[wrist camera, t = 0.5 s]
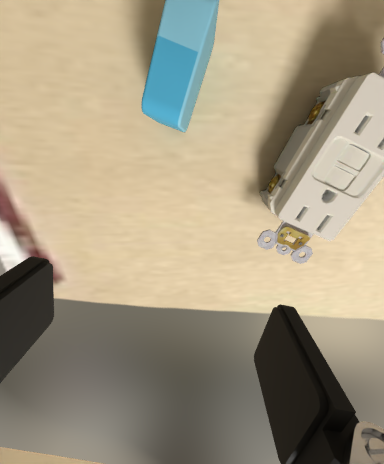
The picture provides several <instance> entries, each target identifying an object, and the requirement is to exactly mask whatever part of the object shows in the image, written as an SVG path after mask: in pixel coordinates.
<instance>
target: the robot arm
mask: <svg viewBox="0 0 384 464" xmlns="http://www.w3.org/2000/svg"><path fill="white" fill-rule="evenodd" d="M53 317H54V298H53V266H52V264H50V263H49V261H48V260H47V259H44V258H38V257H29V258H28V259H26V260H25V261H23V262H21V263H20V264H18V265H17V266H15V267H14V268H12V269H10V270H9V271H7V272H6V273H4V274H3V275H1V276H0V383H1V382H2V380H3V379H4V378H5V377H6V375H7V374H8V373H9V372H10V371H11V370H12V368H13V367H14V366H15V365H16V364H17V363H18V362H19V360H20V359H21V358H22V357H23V356H24V355H25V353H26V352H27V351H28V350H29V349H30V347H31V346H32V345H33V344H34V343H35V342H36V340H37V339H38V338H39V337H40V336H41V335H42V333H43V332H44V331H45V330H46V329H47V328H48V326H49V325H50V324H51V322H52V320H53ZM254 362H255V366H256V370H257V374H258V378H259V382H260V386H261V390H262V394H263V398H264V402H265V406H266V410H267V414H268V417H269V422H270V426H271V430H272V434H273V438H274V442H275V446H276V450H277V454H278V458H279V461H280V463H281V464H384V429H382V428H381V427H379V426H377V425H375V424H372V423H370V422H359V421H358V419H357V417H356V416H355V413H356V411H355V410H354V408H353V406H352V405H351V403H350V401H349V400H348V398H347V396H346V395H345V393H344V391H343V389H342V388H341V386H340V384H339V382H338V381H337V379H336V377H335V376H334V374H333V372H332V371H331V369H330V367H329V365H328V364H327V362H326V360H325V359H324V357H323V355H322V354H321V352H320V350H319V348H318V347H317V345H316V343H315V342H314V340H313V338H312V337H311V335H310V333H309V332H308V330H307V328H306V326H305V325H304V323H303V321H302V319H301V318H300V316H299V314H298V313H297V311H296V309H295V308H294V307H290V306H285V305H278V307H274V308H273V310H272V312H271V315H270V317H269V320H268V322H267V325H266V327H265V329H264V332H263V334H262V337H261V339H260V341H259V344H258V347H257V349H256V351H255V354H254ZM0 464H104V463H97V462H91V461H84V460H79V459H72V458H66V457H60V456H54V455H48V454H41V453H35V452H28V451H21V450H15V449H9V448H3V447H0Z"/></svg>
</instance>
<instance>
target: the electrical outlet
mask: <svg viewBox="0 0 384 464" xmlns="http://www.w3.org/2000/svg"><path fill="white" fill-rule="evenodd" d="M381 53H383V54H384V38H383V39H382V41H381ZM316 100H317V103H316V105H315V107H314V108H313V109H312V110H311V112H310V115H309V117H308V119H307V121H306V122H305V124H304V125H300V126H297V127H296V128H295V130H294V132H293V134H292V135H291V137H290V139H289V141H288V142H287V144H286V146H285V148H284V149H283V151H282V153H281V155H280V156H279V158H278V160H277V162H276V163H275V165H274V169H275V171H276V174H275V176H274V177H273V179H272V180H271V181H270V183H269V186H268V188H267V189H266V191H260V195H261V197H262V200H263V202H264V204H265V205H266V206H267V207H268V209H269V210H270V211H271V212H272V213H273V214H275V215H276V216H277V217H278V218H279V219H280V220H283V222H282V223H281V225H280V226H279V228H278V229H277V231H276V232H273V231H271V230H266V231H263V232H262V233H261V235H260V236H259V238H258V240H257V242H258V245H259V247H262V248H264V249H270V248H273V247H274V245H275V243H276V244H278V245H277V247H276V249H277V252H278V253H279V254H282V255H285V254H289V253H290V251H291V250H292V251H293V252H292V254H291V257H292V260H293V261H295V262H297V263H300V264H301V263H304V262H307V260H308V259H309V258H310V256H311V255H312V254H313V253H312V249H311V248H310V247H308V246H306V244H307V242H308V241H309V240H310V238H311V237H312V236H313V234H314V235H317V236H319V237H321V238H323V239H326V240H328V241H331V240H334V238H335V237H336V236H337V235H338V233H339V232H340V231H341V230H342V228H343V227H344V226H345V225H346V223H347V222H348V221H349V220H350V218H351V217H352V216H353V214H354V213H355V212H356V211H357V209H358V208H359V207H360V206H361V204H362V203H363V202H364V201H365V199H366V198H367V197H368V196H369V194H370V193H371V192H372V190H373V189H374V188H375V187H376V185H377V184H378V183H379V182H380V180H381V179H382V178H383V177H384V67H383V69H382V70H381V72H380V73H379V75H378V74H376V73H369V74H366V75H363V76H355V77H352V78H346V79H344V80H341V81H338V82H336V83H333V84H331V85H328V86H325V87H323V88H322V89H321V91H320V97H317V98H316ZM288 234H289V236H292V237H294V238H296V240H295V242H294V243H291V242H289V241H286V240H285V238H286V237H287V235H288ZM265 237H270V238H271V239H270V241H269V242H264V238H265ZM284 247H286V250H282V248H284ZM301 252H305V255H304V256H303V257H299V254H300V253H301Z"/></svg>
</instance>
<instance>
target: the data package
mask: <svg viewBox="0 0 384 464" xmlns="http://www.w3.org/2000/svg"><path fill="white" fill-rule="evenodd" d="M218 5H219V0H165V4H164V9H163V13H162V17H161V21H160V25H159V30H158V34H157V38H156V42H155V47H154V51H153V55H152V59H151V63H150V68H149V72H148V76H147V80H146V84H145V89H144V93H143V97H142V111H143V113H144V114H145V115H147V116H149V117H150V118H152V119H154V120H155V121H157V122H159V123H161V124H164V125H167V126H169V127H172V128H174V129H177V130H180V131H182V132H186V130H187V128H188V125H189V122H190V119H191V115H192V112H193V109H194V106H195V103H196V100H197V96H198V93H199V90H200V87H201V84H202V81H203V77H204V74H205V71H206V68H207V65H208V62H209V58H210V55H211V52H212V48H213V44H214V37H215V29H216V21H217V13H218Z"/></svg>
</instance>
